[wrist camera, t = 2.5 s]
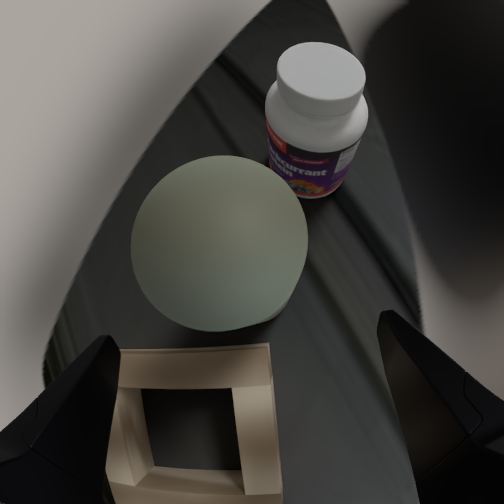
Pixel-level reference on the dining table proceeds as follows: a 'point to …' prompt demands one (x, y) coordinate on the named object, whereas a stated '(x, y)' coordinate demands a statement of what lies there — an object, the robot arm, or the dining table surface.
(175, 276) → the peg
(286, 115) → the pill bottle
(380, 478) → the dining table surface
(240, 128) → the dining table surface
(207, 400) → the dining table surface
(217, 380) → the holder
